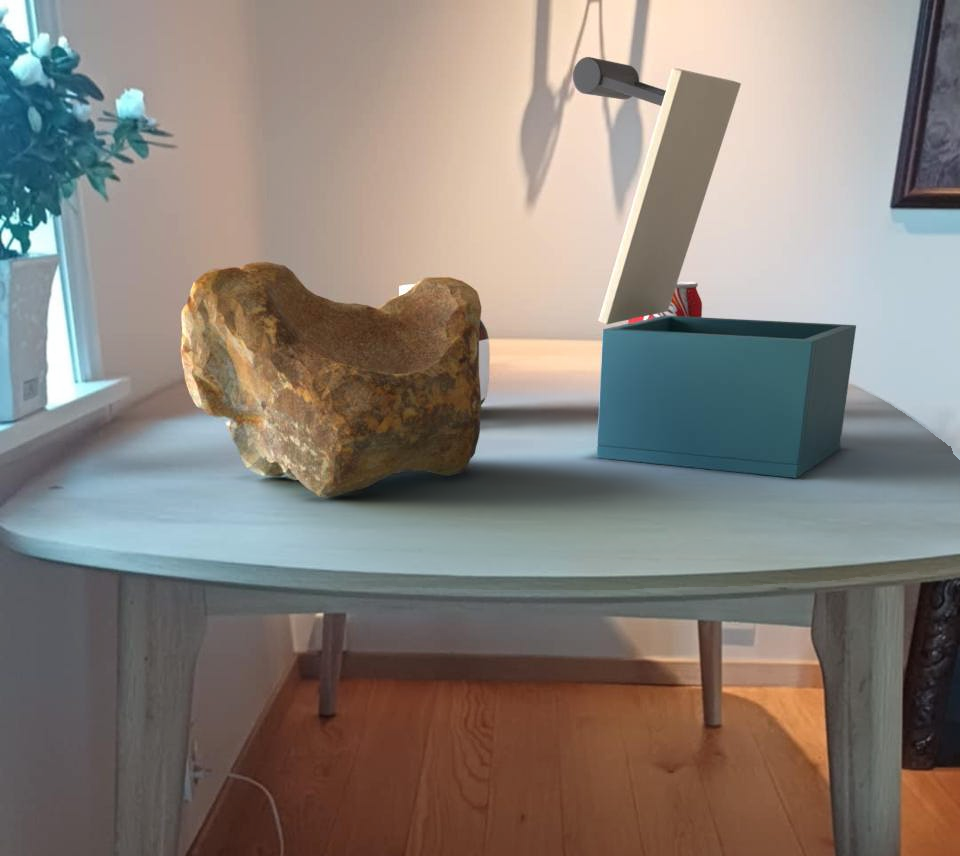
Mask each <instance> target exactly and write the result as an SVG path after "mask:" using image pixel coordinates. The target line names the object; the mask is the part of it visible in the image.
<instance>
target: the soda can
mask: <svg viewBox="0 0 960 856" xmlns="http://www.w3.org/2000/svg"><path fill="white" fill-rule="evenodd" d="M698 285H699V284H698V282H696V281H686V280H678V281H677V284H676V288H675V291H674V294H673V297H672V300H671V303H670V306H669V309H668V311H666V312H661V313H657V314H652V315H648V316H643V317H639V318H634V319H630V320H627V324H629V323H633V322H638V321H642V320H647V319H651V318H656V317H660V316H684V317H703V302H702V299H701V296H700V294H699V293H698V290H697V287H698Z"/></svg>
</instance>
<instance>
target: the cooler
mask: <svg viewBox="0 0 960 856" xmlns="http://www.w3.org/2000/svg"><path fill="white" fill-rule="evenodd" d="M856 330H857V325H856V324H841V323H820V322H800V321H781V320H762V319H761V320H760V319H743V318H741V319H739V318H722V317H704V316H702V317H684V316H660V317H656V318H651V319H647V320H642V321H638V322H633V323H629V324H628V323H625V324H621V325H616V326H611V327H607V328H603V329H602V335H601V337H602V338H601V357H600V360H601V362H600V377H599V378H600V379H599V396H598V397H599V399H598V400H599V401H598V421H597V439H596V440H597V441H596V443H597V445H596V458H597V459H605V460H614V461H615V460H616V461H625V462H633V463H634V462H635V463H645V464H653V465H654V464H656V465H664V466H674V467H682V468H683V467H685V468H693V469H694V468H695V469H702V470H712V471H713V470H714V471H721V472H733V473H743V474H751V475H752V474H753V475H762V476H771V477H781V478H791V479H797V478H798V477H800V476H802V475H803V474H804V473H806V472H808V471H809V470H810V469H812V468H814V467H815V466H816V465H818V464H819V463H821V462H822V461H824V460H825V459H827V458H828V457H830V456H831V455H833V454H834V453H836V452H837V451H839V450H840V449H841V441H842V434H843V426H844V419H845V411H846V404H847V396H848V390H849V382H850V376H851V374H850V373H851V368H852V359H853V353H854V344H855V337H856Z"/></svg>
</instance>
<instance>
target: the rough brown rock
mask: <svg viewBox="0 0 960 856" xmlns="http://www.w3.org/2000/svg"><path fill="white" fill-rule="evenodd" d="M415 284H416V285H415V286H413V287H412V288H411V289H409V290H408V291H407V292H405V293H403V294H401V295H399V294H398V295H396V296H394V297H392V298H390V299H388V300H387V301H386V302H385V303H383V304H382V305H379V306H378V307H373V306H370V305H367V304H361V303H356V302H353V303H350V302H349V303H347V302H338V301H334V300H331V299H329V298H326V297H323V296H320V295H317V294H315V293H314V292H312V291H311V290H310V289H308V288H307V287H306V286H305V285H304V284H303V282H301V280H300V279H299V278H298V277H297V275H296V274H295V273H294V272H293V271H292V270H291V269H290V268H289V267H287V266H286V265H284V264H279V263H274V262H269V261H258V262H249V263H246V264H244V265H242V266H240V267H237V266H236V267H235V266H226V267H220V268H213V269H210V270H208V271H206V272H204V273H203V274H202V275H201V276H200V277H198V278H197V279H196V280H195V281H193V284H192V286H191V289H190V293H189V295H188V298H187V302H186V304H185V305H184V307H183V308H182V310H181V331H182V332H181V347H180V355H181V362H182V363H181V364H182V368H183V372H184V381H185V383H186V386H187V390H188V393H189V395H190V397H191V399H192V401H193V403H194V404H195V406H196V407H197V408H198V409H200V410H202V411H203V412H205V413H206V414H207V415H209V416H212V417H214V418H217V419H219V420H221V421H222V422H224V423H225V425H226V427H227V429H228V431H229V433H230V435H231V439H232V441H233V443H234V445H235V447H236V448H237V451H238V453H239V456H240V458H241V460H242V462H243V464H244V465H245V467H246V468H247V469H248V470H250V471H251V472H253V473H255V474H257V475H259V476H262V477H270V478H281V477H282V476H283V477H284V476H286V477H287V478H288V479H290V480H293V481H299V482H300V483H301V485H303V486H304V487H305V488H306V489H307V490H309V491H311V492H313V493H315V495H317V496H318V497H321V498H327V499H328V498H333V497H337V496H340V495H343V494H348V493H352V492H356V491H359V490H362V489H365V488H368V487H370V486H371V485H373V484H375V483H377V482H379V481H381V480H383V479H385V478H388V477H389V476H392V475H394V474H399V473H403V472H415V471H422V472H423V471H424V472H428V473H433V474H438V475H441V476H446V477H447V476H448V477H451V476H454V475H458V474H461V473H463V472H464V470H465V469H466V468H467V467H468V466H469V464H470V461H471V459H472V458H473V457H474V455H475V454H476V451H477V450H476V449H477V445H478V442H479V439H480V435H481V410H482V405H481V392H480V380H479V326H480V319H481V316H482V304H481V300H480V299H481V298H480V295H479V293H478V291H477V290H476V289H475V288H473V286H471V285H470V284H468V283H466V282H465V281H463V280H461V279H457V278H453V277H451V276H447V277H444V276H443V277H439V276H438V277H437V276H435V277H430V276H429V277H428V276H427V277H424V278H422V279H419V280H418V281H417V282H416V283H415Z"/></svg>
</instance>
